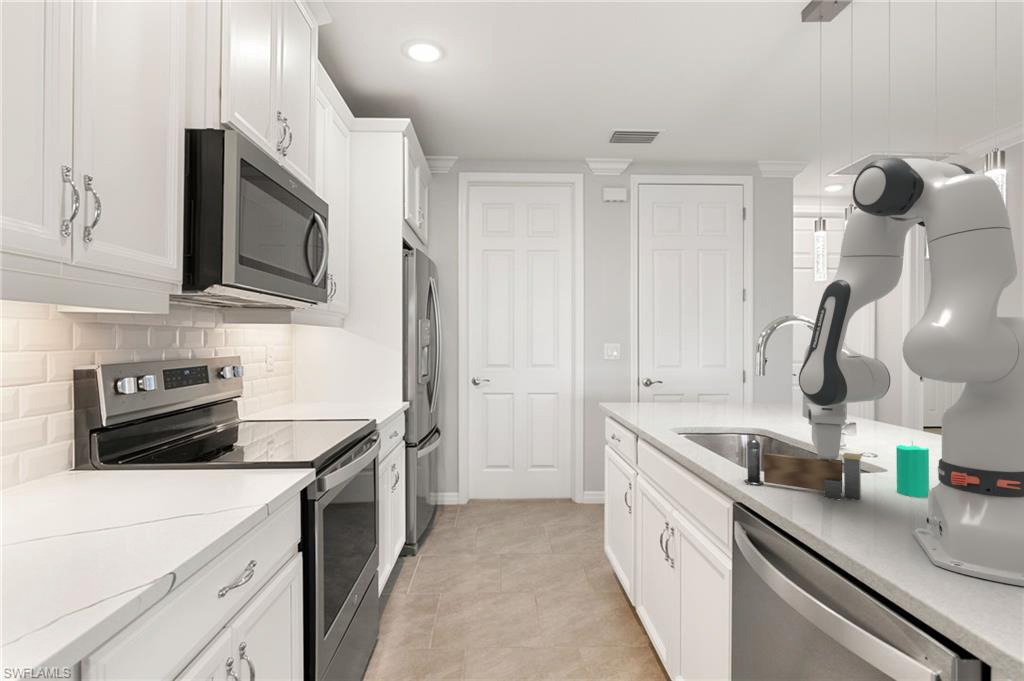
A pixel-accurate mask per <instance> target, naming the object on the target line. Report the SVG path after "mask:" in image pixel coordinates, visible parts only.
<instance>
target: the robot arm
mask: <svg viewBox="0 0 1024 681" xmlns="http://www.w3.org/2000/svg"><path fill="white" fill-rule="evenodd" d="M852 198H853V202H854V205H855V206H856V208H855V209H853V211H852V212H851V213H850V214H849V216H848V220H847V223H846V226H845V229H844V233H843V238H842V242H841V246H840V248H841V249H840V254H839V262H838V267H837V270H836V273H835V276H834V277H833V279H832V282H830V284H829V285H827V286H826V288H825V289H824V291H823V293H822V296H821V300H820V303H819V306H818V310H817V314H816V318H815V322H814V327H813V330H812V335H811V338H810V339H811V340H810V343H809V344H808V345H807V347H806V349H805V352H804V358H803V364H802V366H801V368H800V371H799V373H798V386H799V388H800V390H801V392H802V417H803V418H805V419H807V420H808V425H810V426H811V441H812V444H813V445H814V448H815V451H816V453H817V459H819V460H829V461H830V460H832V459H835V460H838V457H839V454H840V448H841V440H842V432H843V431H842V430H843V428H842V426H844V425H846V421H847V418H848V417H847V415H848V412H847V411H848V403H849V404H850V403H859V402H860V403H861V402H862V403H863V402H872V401H873V402H874V401H875V400H876V401H877V400H880V399H882V398H884V396H885V395H886V394H887V393H888V391H889V390H890V387H891V386H890V385H891V374H890V371H889V369H888V368H887V365H886V364H884V363H883V362H882V361H881V360H879V359H877V358H874V357H873V358H872V357H870V356H866V355H864V354H861V353H859V352H857V351H855V350H853V349H852V348H850V347H848V345H847V344H846V343H845V340H846V339H845V338H846V334H847V331H848V327H849V322H850V321H851V319H852V317H853V316H854V314H856V313H857V312H858V311H859V310H860V309H862V308H863V307H865V306H866V305H869V304H870V303H873V302H875V301H878V300H880V299H882V298H884V297H885V296H887V295H888V294H890V293H891V292H892V291H893V290H895V289H896V287H897V286H898V284H899V282H900V279H901V276H902V273H903V264H904V255H905V242H906V237H907V235H908V232H909V231H910V230H911V228H913V227H914V226H915V225H918V226H920V227H923V228H925V232H926V233H925V234H926V244H927V254H928V262H929V271H930V272H929V273H930V283H931V284H930V293H929V298H928V302H927V306H926V308H925V311H924V313H923V315H922V317H921V318H920V320H919V321H918V322H917V323H916V324H915V325H914V326H912V328H910V329H909V331H907V333H906V335H905V337H904V340H903V342H902V356H903V359H904V362H905V364H906V366H907V367H908V369H909V370H910V371H912V373H914V374H915V375H917V376H919V377H920V378H924V379H929V380H934V381H937V382H938V381H939V382H944V383H949V384H958V383H959V384H960V383H965V385H964V387H963V390H962V393H961V394H960V395H959V396H960V397H959V398H958V399H957V400H956V402H955V403H954V404H953V405H952V406H950V407H949V408H948V409H947V410H946V411H945V412H944V413H943V415H942V416H941V417H942V418H941V458H940V459H939V460H938V465H937V472H938V473H937V474H938V481H939V483H938V484H937V485H936V486H934V487H932V488H931V489H929V491H928V497H927V517H926V523H927V528H915V529H914V532H913V536H914V537H915V539H916V541H917V542H918V544H919V545H920V547H922V550H923V551H924V552H925V553H926V555H927V557H928V558H929V560H930V561H931V563H932V564H934V566H938V567H940V568H943V569H946V570H949V571H952V572H955V573H960V574H963V575H967V576H971V577H975V578H979V579H984V580H989V581H992V582H993V581H994V582H998V583H1002V584H1003V583H1004V584H1007V585H1008V584H1009V585H1014V586H1020V587H1024V317H1022V316H1021V317H1020V316H998V306H999V301H1000V298H1001V295H1002V293H1003V291H1004V290H1005V289H1007V288H1008V287H1009V286H1010V285H1012V284H1013V283H1014V281H1015V280H1016V278H1017V276H1018V268H1017V266H1018V265H1017V260H1016V253H1015V247H1014V240H1013V234H1012V229H1011V223H1010V218H1009V214H1008V208H1007V207H1006V204H1005V201H1004V198H1003V195H1002V193H1001V191H1000V188H999V187H998V185H997V183H996V181H995V179H993V178H991V177H990V176H989V175H986V174H982V173H976V172H974V171H973V170H972V169H971V168H969V167H967V166H966V165H962V164H958V163H955V162H943V161H938V160H931V159H929V158H916V157H914V158H913V157H912V158H909V157H908V158H899V157H887V158H882V159H876V160H873V161H871V162H870V163H868V164H867V165H866V166H864V167H863V168H862V169H861V170H860V171H859V173H858V174H857V176H856V178H855V180H854V183H853V186H852Z"/></svg>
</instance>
